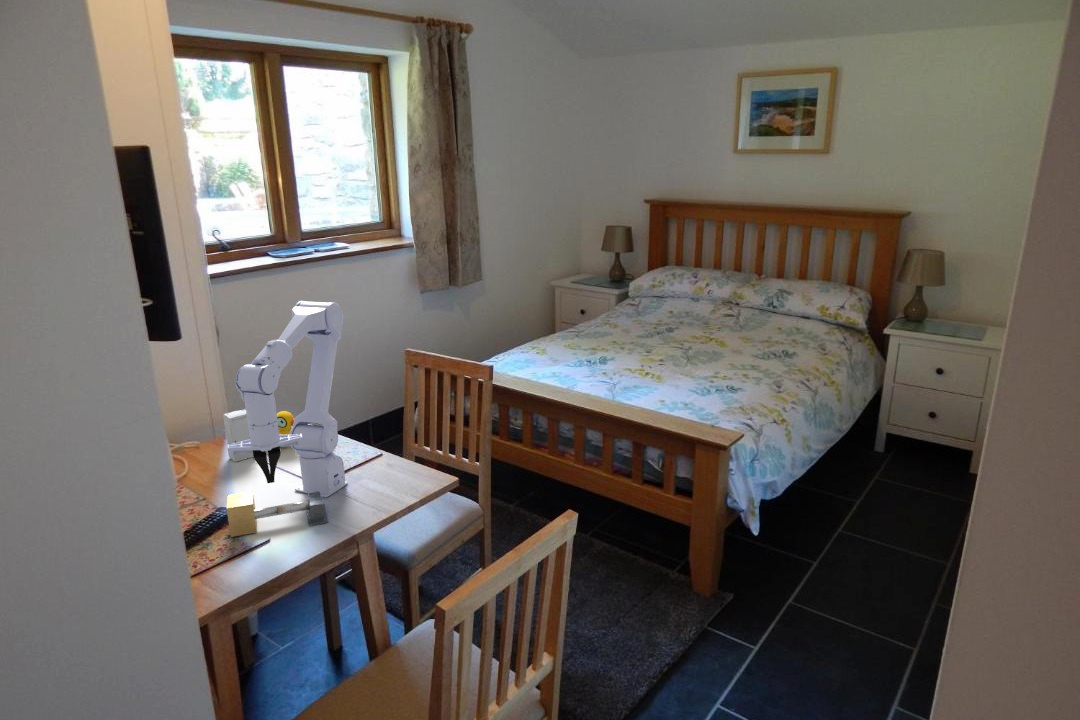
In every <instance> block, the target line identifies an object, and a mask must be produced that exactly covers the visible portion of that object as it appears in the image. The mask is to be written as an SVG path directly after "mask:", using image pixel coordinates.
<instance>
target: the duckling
mask: <svg viewBox="0 0 1080 720" xmlns="http://www.w3.org/2000/svg"><path fill="white" fill-rule="evenodd" d="M276 413H277V420H278V428H279V435H289V433H290V431H291V429H292V426H293V423H294V418H295V417H294V416H293V414H292V413H291V412H289V411H286V410H283V411H279V412H276ZM288 447H289V446H287V447H281V448H283V449H284V448H285V449H286V448H288Z"/></svg>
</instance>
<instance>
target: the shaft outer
mask: <svg viewBox="0 0 1080 720" xmlns="http://www.w3.org/2000/svg"><path fill="white" fill-rule="evenodd" d="M277 506H278V505H273V506H267V507H263V508H258V509H257V508H255V510H254V512H255V519H257V520H259V519H264V518H271V517H276V516H279V515H278V511H277Z"/></svg>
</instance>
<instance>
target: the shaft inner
mask: <svg viewBox="0 0 1080 720" xmlns="http://www.w3.org/2000/svg"><path fill="white" fill-rule="evenodd" d="M321 501H322V502H323V499H322V498H321ZM276 506H277V511H278V515H277V516H280V515H281V516H282V515H286V514H287V515H288V514H293V513H298V512H304V511H307V510H310V501H309V499H307V500H303V501H297V502H290V503H286V504H280V505H276ZM322 507H323V506H322Z"/></svg>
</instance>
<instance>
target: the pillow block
mask: <svg viewBox="0 0 1080 720" xmlns="http://www.w3.org/2000/svg"><path fill="white" fill-rule="evenodd" d="M307 494H308V500H309V501H310V510H306V515H307V517H306V518H307V523H308V527H313V526H320V525H323V524H329V520H328V518H329V517H328V514H327V509H326V504H325V503H323V500H322V501H321V499H322V497H321V496H320V491H319V492H313V493H307ZM322 506H323V507H322Z"/></svg>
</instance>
